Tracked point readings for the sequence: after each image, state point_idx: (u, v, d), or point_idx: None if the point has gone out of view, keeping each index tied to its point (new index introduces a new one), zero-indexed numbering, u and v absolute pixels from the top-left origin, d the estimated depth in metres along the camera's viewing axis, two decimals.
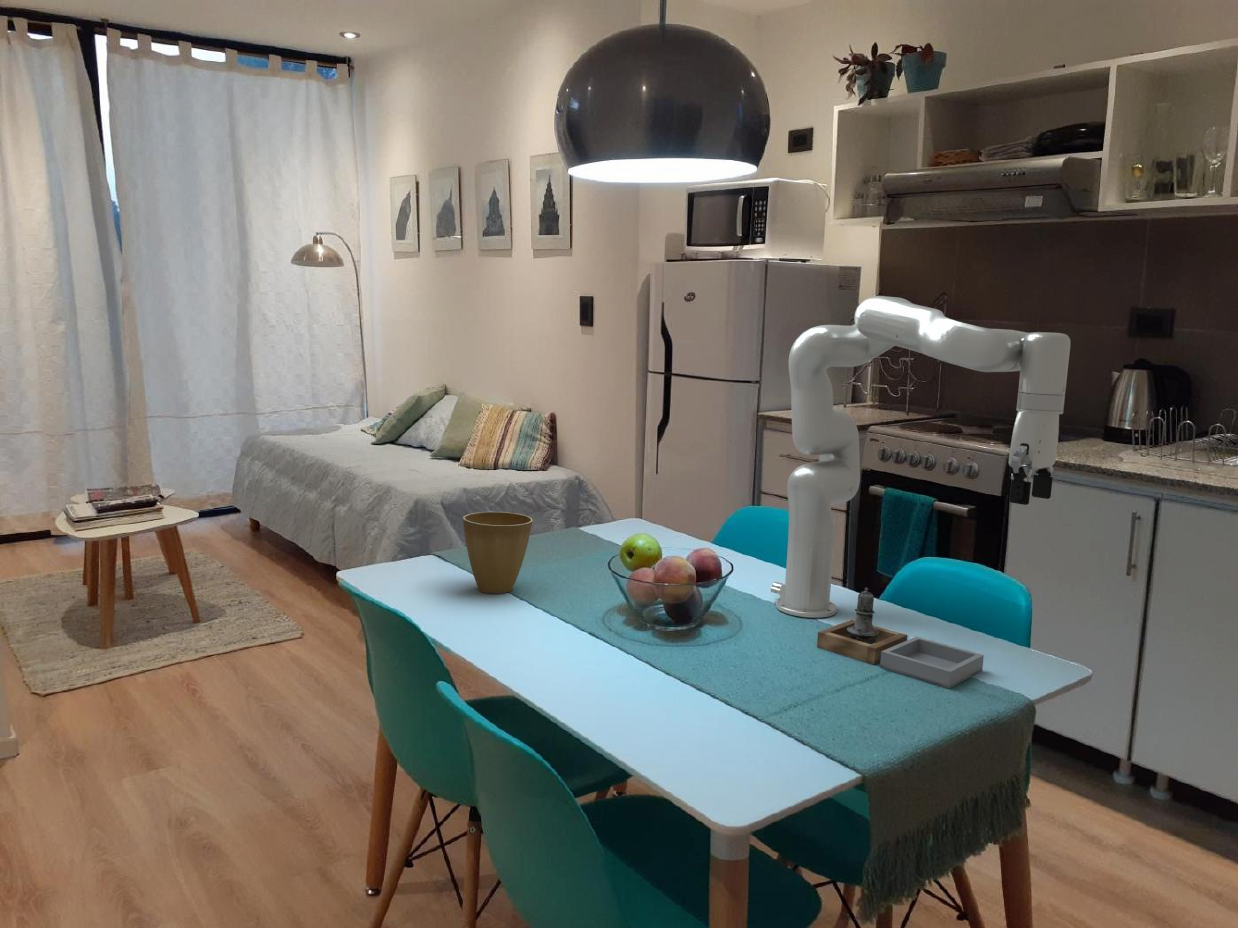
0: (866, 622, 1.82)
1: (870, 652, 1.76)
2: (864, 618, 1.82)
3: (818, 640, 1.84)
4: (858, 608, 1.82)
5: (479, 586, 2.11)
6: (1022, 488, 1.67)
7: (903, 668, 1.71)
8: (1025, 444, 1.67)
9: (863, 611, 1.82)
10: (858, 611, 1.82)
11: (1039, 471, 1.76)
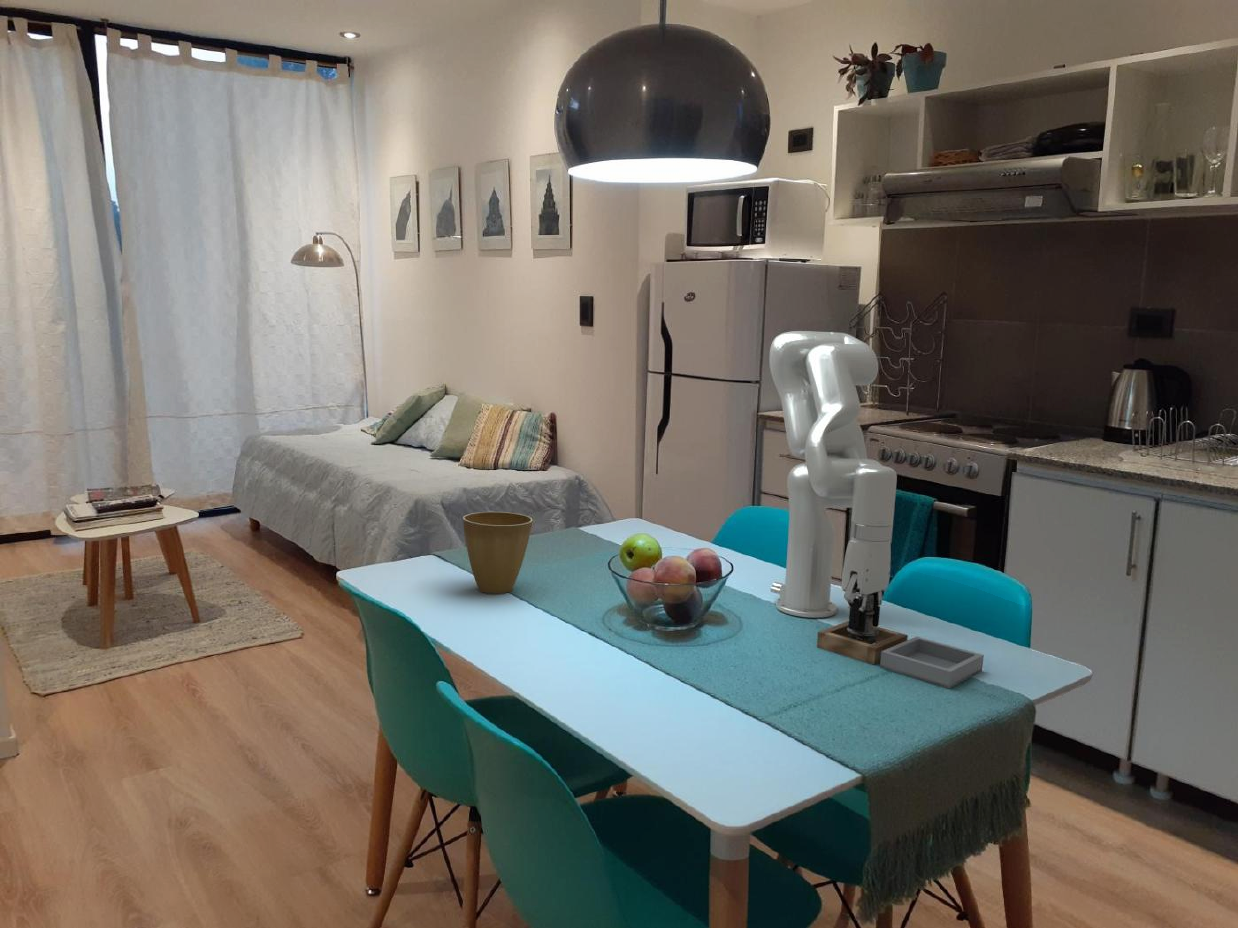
0: (866, 622, 1.82)
1: (870, 652, 1.76)
2: None
3: (818, 640, 1.84)
4: None
5: (479, 586, 2.11)
6: (858, 617, 1.80)
7: (903, 668, 1.71)
8: (855, 575, 1.78)
9: None
10: None
11: None
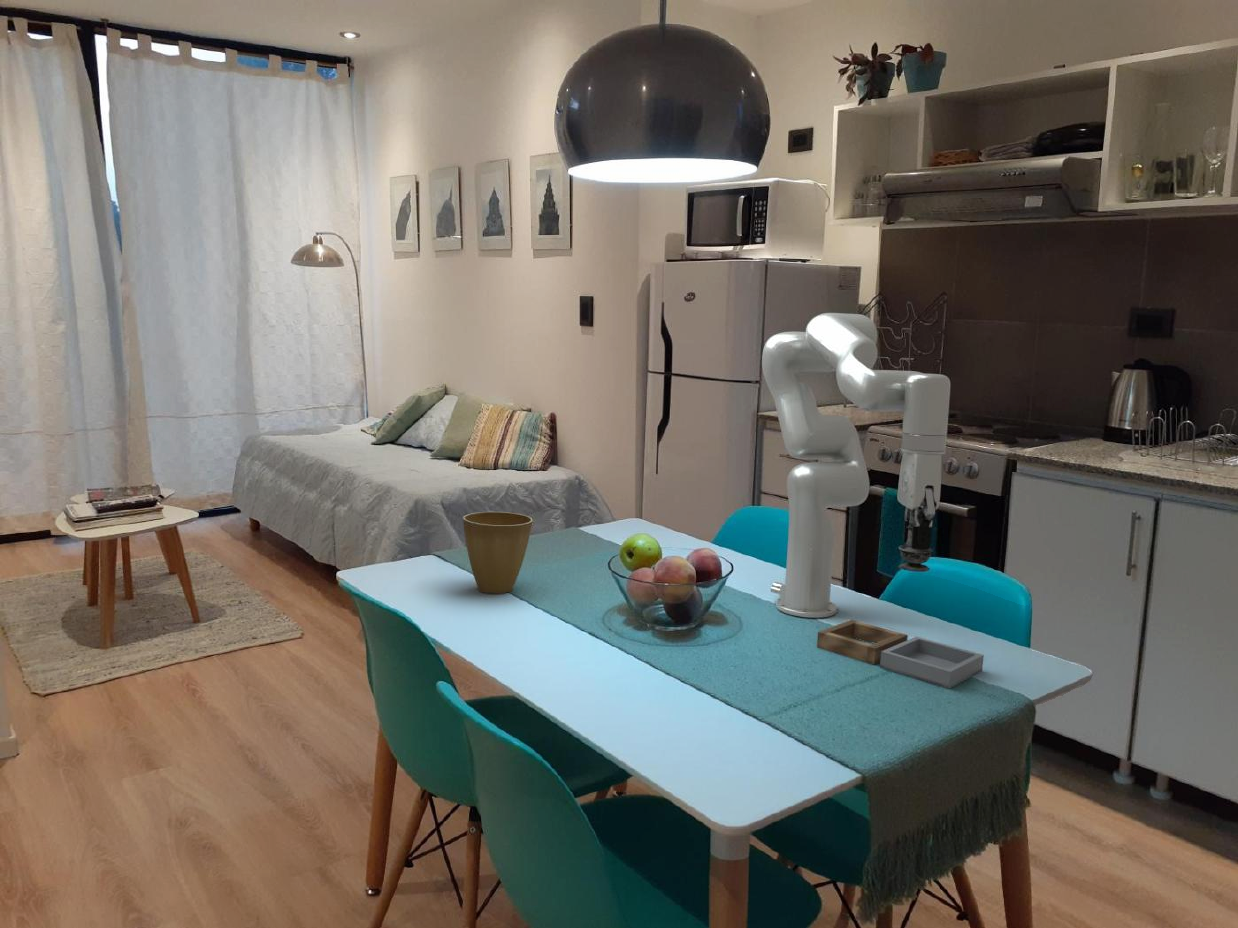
0: None
1: (870, 652, 1.76)
2: None
3: (818, 640, 1.84)
4: None
5: (479, 586, 2.11)
6: (927, 534, 1.71)
7: (903, 668, 1.71)
8: (928, 489, 1.68)
9: None
10: None
11: None
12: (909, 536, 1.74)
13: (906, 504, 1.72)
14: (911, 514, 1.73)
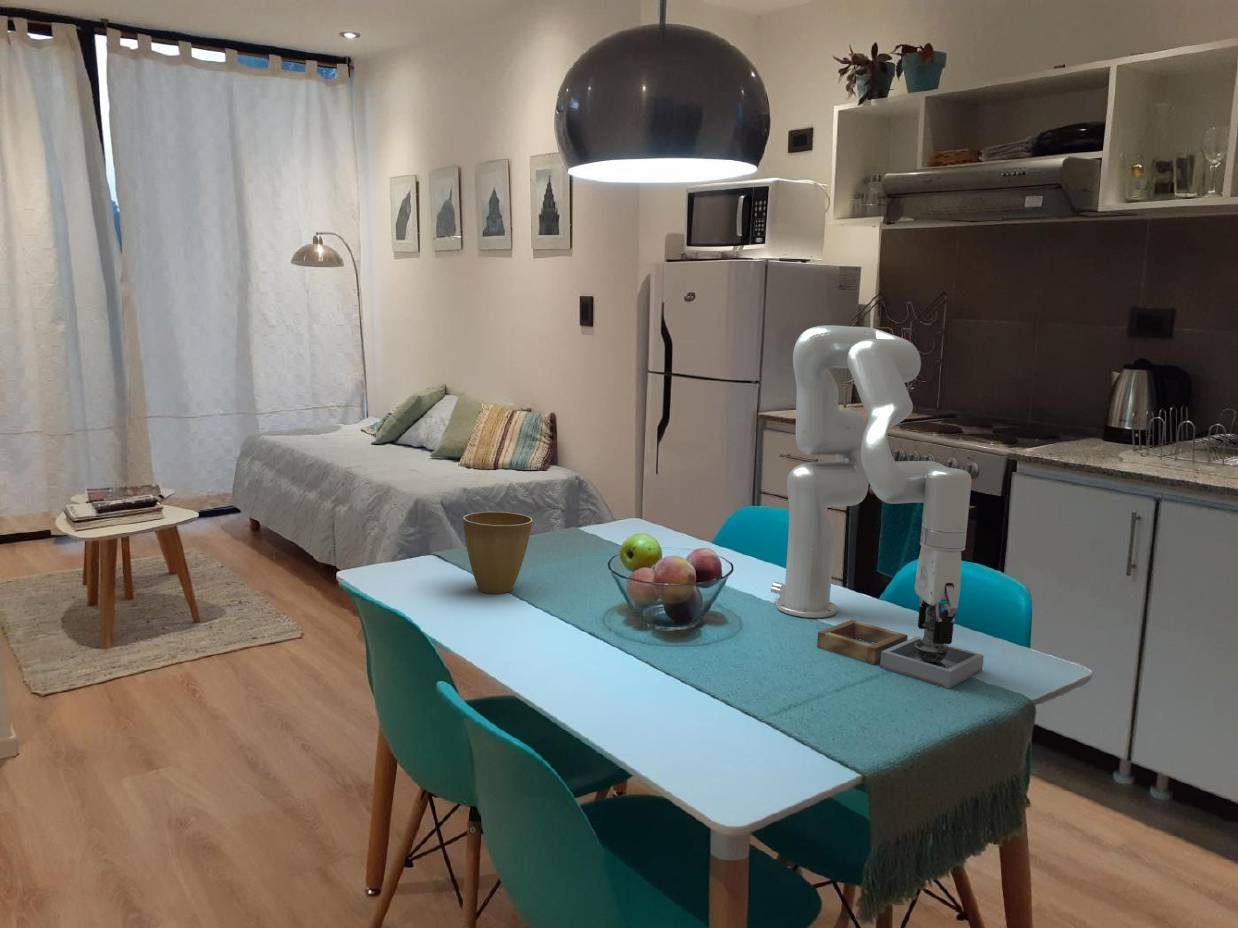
0: None
1: (870, 652, 1.76)
2: None
3: (818, 640, 1.84)
4: (931, 624, 1.72)
5: (479, 586, 2.11)
6: (949, 629, 1.68)
7: (903, 668, 1.71)
8: (949, 584, 1.67)
9: None
10: (933, 627, 1.72)
11: (925, 602, 1.77)
12: (925, 634, 1.73)
13: (925, 599, 1.71)
14: (927, 613, 1.73)
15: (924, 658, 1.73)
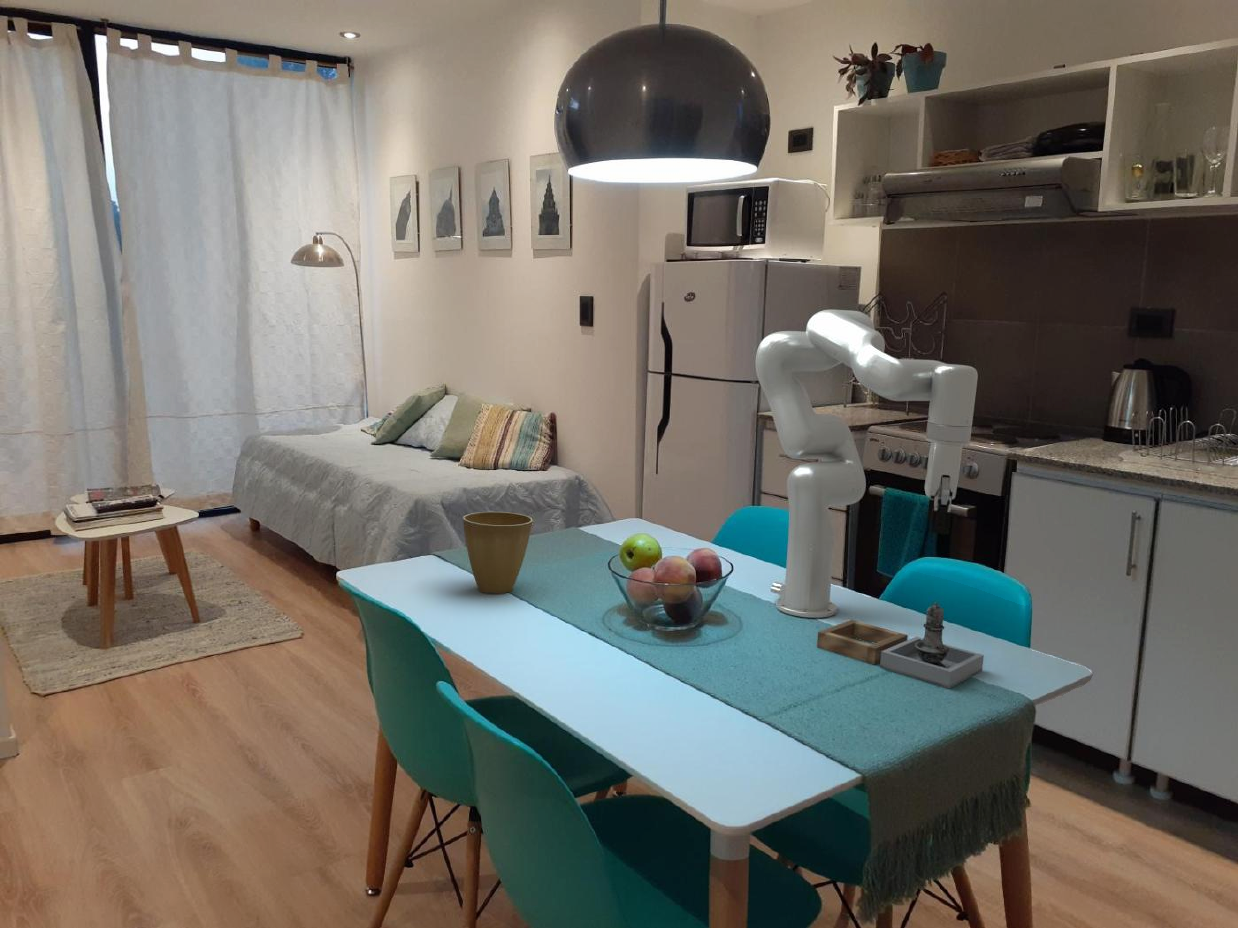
0: (940, 638, 1.73)
1: (870, 652, 1.76)
2: (940, 634, 1.72)
3: (818, 640, 1.84)
4: (932, 625, 1.72)
5: (479, 586, 2.11)
6: (945, 519, 1.71)
7: (903, 668, 1.71)
8: (945, 475, 1.71)
9: (938, 627, 1.72)
10: (934, 628, 1.72)
11: (934, 496, 1.81)
12: (926, 635, 1.73)
13: None
14: (928, 613, 1.73)
15: (924, 658, 1.73)
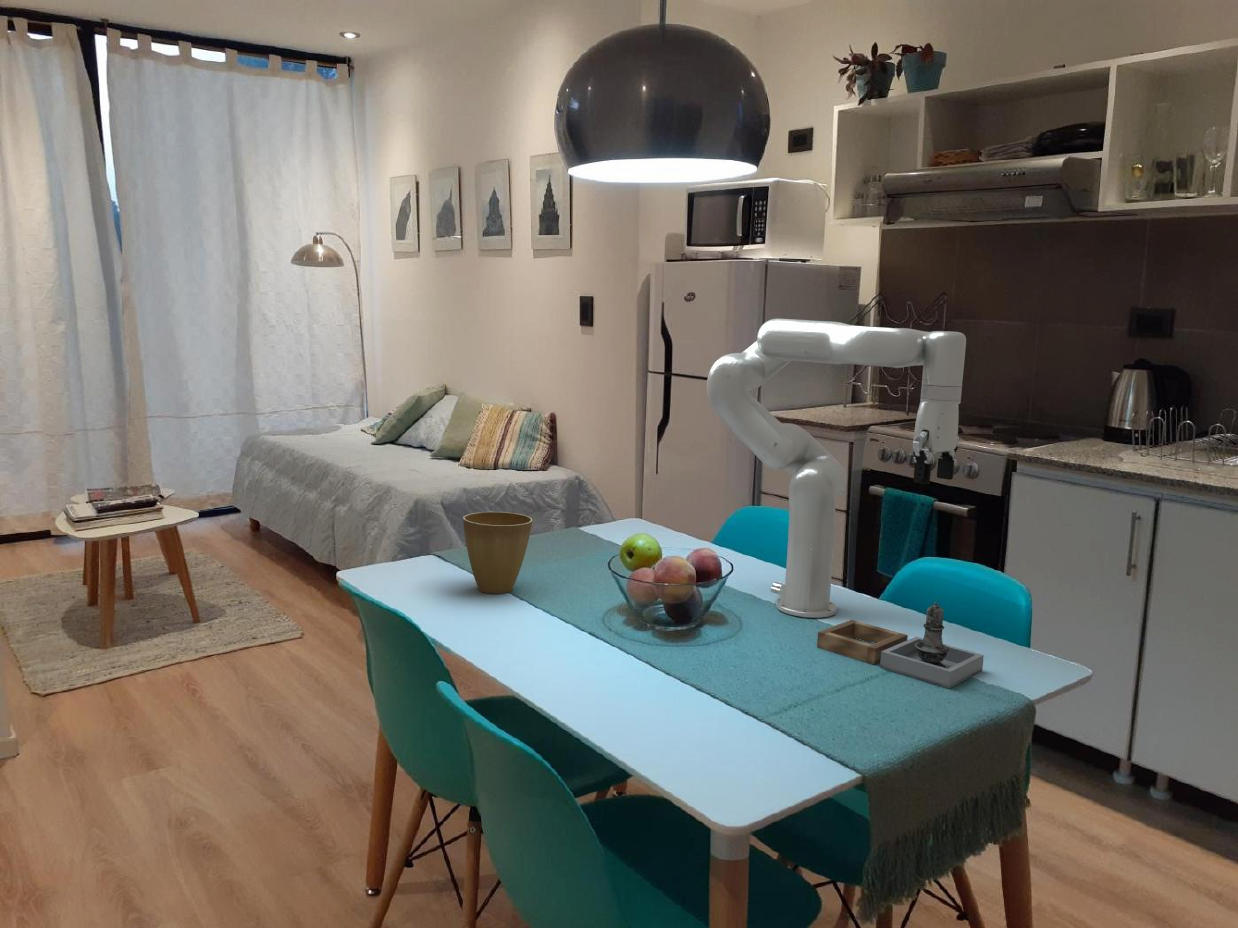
0: (940, 638, 1.73)
1: (870, 652, 1.76)
2: (939, 634, 1.72)
3: (818, 640, 1.84)
4: (932, 625, 1.72)
5: (479, 586, 2.11)
6: (923, 470, 1.89)
7: (903, 668, 1.71)
8: (926, 430, 1.89)
9: (938, 627, 1.72)
10: (934, 628, 1.72)
11: (943, 455, 1.97)
12: (926, 635, 1.73)
13: None
14: (928, 613, 1.73)
15: (924, 658, 1.73)
